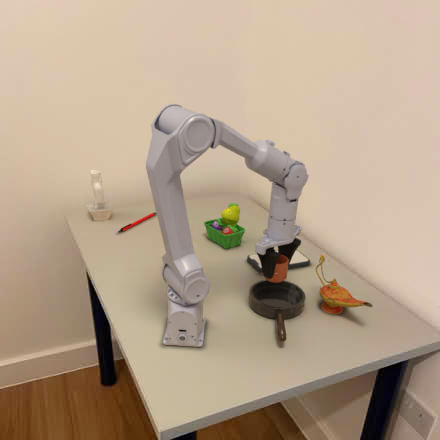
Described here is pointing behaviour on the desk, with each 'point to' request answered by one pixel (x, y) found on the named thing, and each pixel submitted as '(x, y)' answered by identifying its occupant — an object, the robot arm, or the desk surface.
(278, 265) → the terracotta cup
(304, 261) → the phone case
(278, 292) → the pan
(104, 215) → the figurine
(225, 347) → the desk surface
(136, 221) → the pen
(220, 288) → the desk surface
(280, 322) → the pan handle
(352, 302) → the magic lamp
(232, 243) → the fruit basket
